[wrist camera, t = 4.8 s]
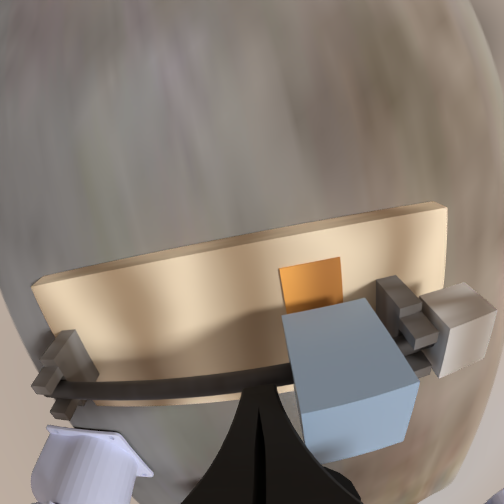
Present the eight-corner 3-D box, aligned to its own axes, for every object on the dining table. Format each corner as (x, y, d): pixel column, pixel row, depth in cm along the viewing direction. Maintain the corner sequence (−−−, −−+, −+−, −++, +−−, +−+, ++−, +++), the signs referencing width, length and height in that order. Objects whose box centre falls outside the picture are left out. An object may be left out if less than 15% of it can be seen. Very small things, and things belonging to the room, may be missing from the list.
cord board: (102, 392, 20) (75, 456, 14) (42, 276, 16) (-17, 330, 10) (423, 340, 19) (467, 401, 13) (432, 201, 15) (509, 237, 9)
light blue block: (291, 374, 15) (308, 466, 10) (281, 315, 14) (301, 414, 8) (364, 357, 15) (403, 441, 10) (365, 297, 14) (419, 381, 8)
